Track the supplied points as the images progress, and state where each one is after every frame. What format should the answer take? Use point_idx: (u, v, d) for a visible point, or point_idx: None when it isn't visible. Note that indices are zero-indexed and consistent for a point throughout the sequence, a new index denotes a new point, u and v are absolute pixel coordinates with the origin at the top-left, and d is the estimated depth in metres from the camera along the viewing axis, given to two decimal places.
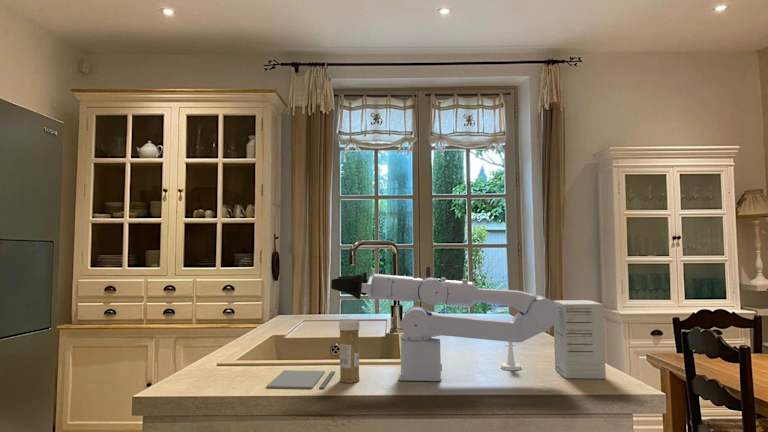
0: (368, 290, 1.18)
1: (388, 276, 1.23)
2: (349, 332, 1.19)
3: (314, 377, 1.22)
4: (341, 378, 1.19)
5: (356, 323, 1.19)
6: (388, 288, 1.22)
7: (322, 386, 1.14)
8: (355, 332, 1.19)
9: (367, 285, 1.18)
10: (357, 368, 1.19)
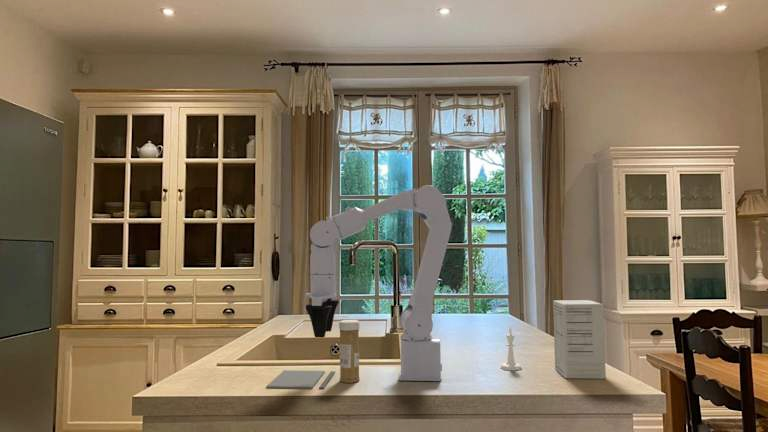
0: (318, 298, 1.14)
1: (310, 278, 1.21)
2: (349, 332, 1.19)
3: (314, 377, 1.22)
4: (341, 378, 1.19)
5: (356, 323, 1.19)
6: (320, 277, 1.19)
7: (322, 386, 1.14)
8: (355, 332, 1.19)
9: (313, 299, 1.14)
10: (357, 368, 1.19)
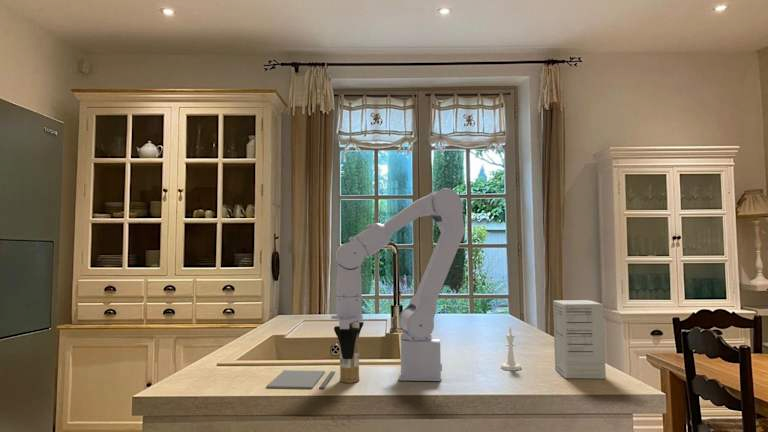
0: (346, 321, 1.14)
1: (337, 300, 1.20)
2: None
3: (314, 377, 1.22)
4: (341, 378, 1.19)
5: (356, 323, 1.19)
6: (347, 300, 1.18)
7: (322, 386, 1.14)
8: None
9: (341, 323, 1.14)
10: (357, 368, 1.19)
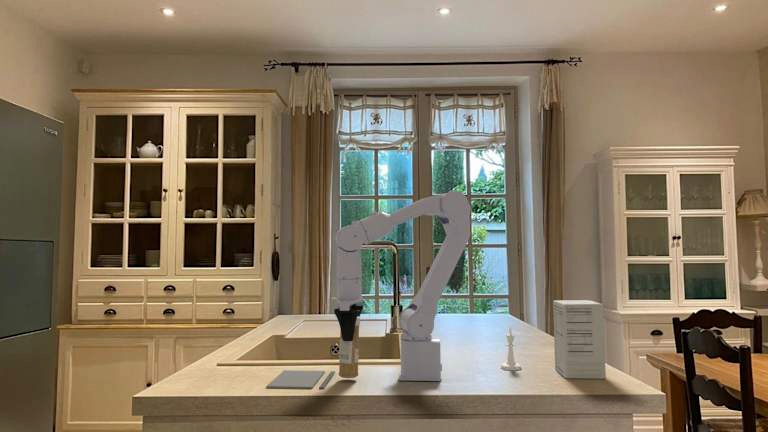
0: (346, 303, 1.14)
1: (337, 283, 1.20)
2: None
3: (314, 377, 1.22)
4: (340, 373, 1.19)
5: (358, 319, 1.20)
6: (347, 282, 1.18)
7: (322, 386, 1.14)
8: (356, 328, 1.19)
9: (341, 304, 1.14)
10: (357, 363, 1.20)
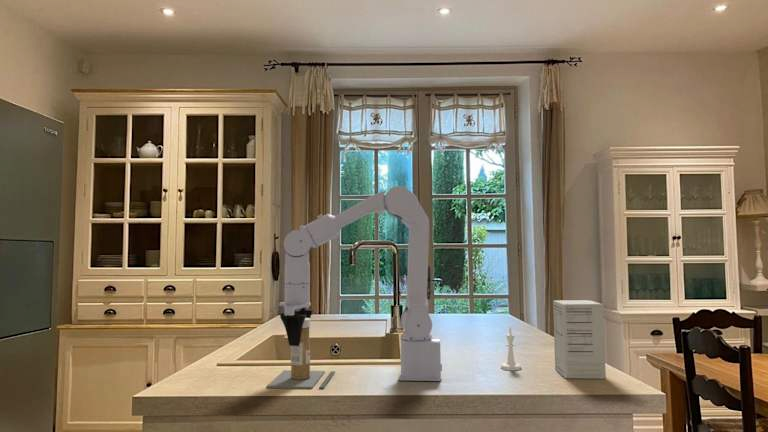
0: (290, 308, 1.15)
1: None
2: None
3: (314, 377, 1.22)
4: (292, 375, 1.20)
5: (307, 321, 1.21)
6: (294, 287, 1.19)
7: (322, 386, 1.14)
8: (306, 329, 1.20)
9: (285, 309, 1.15)
10: (308, 365, 1.21)
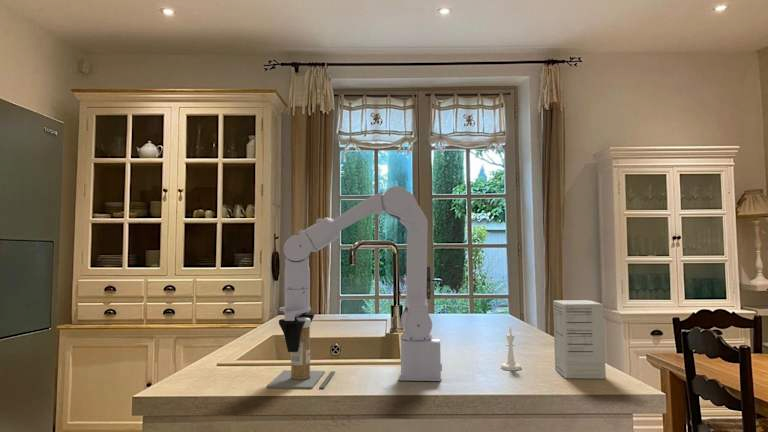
0: (290, 313, 1.15)
1: None
2: None
3: (314, 377, 1.22)
4: (292, 375, 1.20)
5: (308, 320, 1.21)
6: (294, 292, 1.19)
7: (322, 386, 1.14)
8: (307, 329, 1.21)
9: (286, 314, 1.15)
10: (308, 365, 1.21)
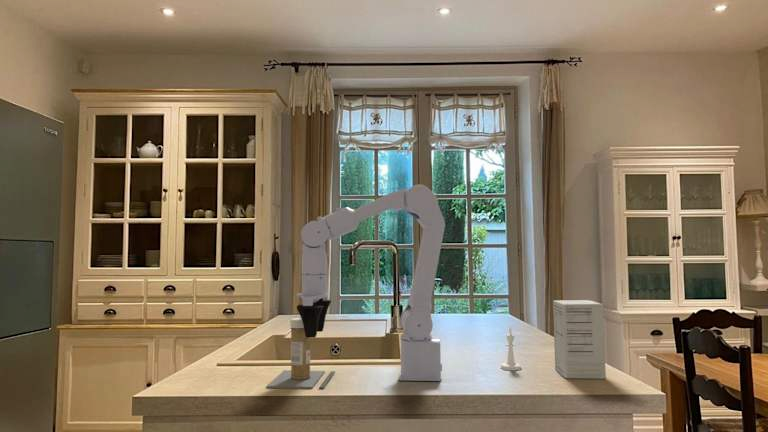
0: (309, 298, 1.15)
1: (302, 278, 1.21)
2: (301, 329, 1.20)
3: (314, 377, 1.22)
4: (292, 375, 1.20)
5: None
6: (311, 277, 1.19)
7: (322, 386, 1.14)
8: None
9: (304, 299, 1.15)
10: (308, 365, 1.21)
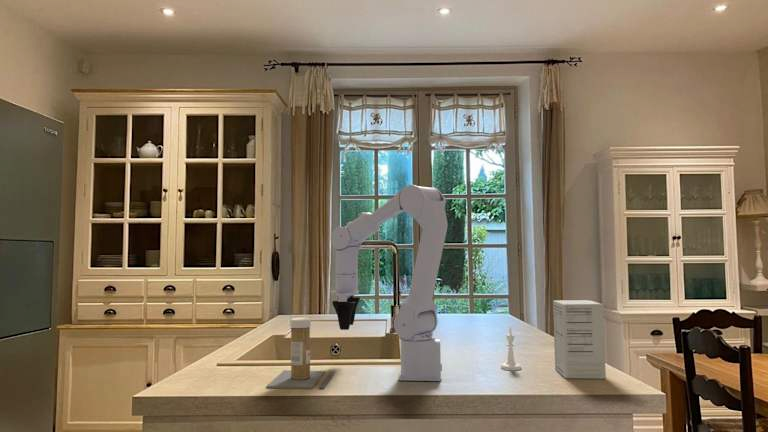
0: (343, 295, 1.30)
1: (336, 277, 1.36)
2: (301, 329, 1.20)
3: (314, 377, 1.22)
4: (292, 375, 1.20)
5: (308, 320, 1.21)
6: (345, 277, 1.35)
7: (322, 386, 1.14)
8: (307, 329, 1.21)
9: (339, 296, 1.30)
10: (308, 365, 1.21)
